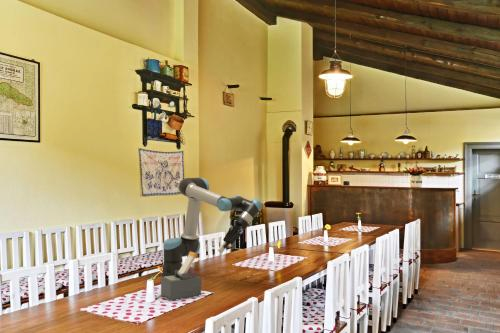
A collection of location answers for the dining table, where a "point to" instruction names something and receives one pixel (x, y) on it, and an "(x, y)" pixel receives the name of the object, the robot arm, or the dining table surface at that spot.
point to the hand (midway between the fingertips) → (219, 251)
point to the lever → (187, 263)
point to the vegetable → (191, 271)
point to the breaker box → (180, 286)
